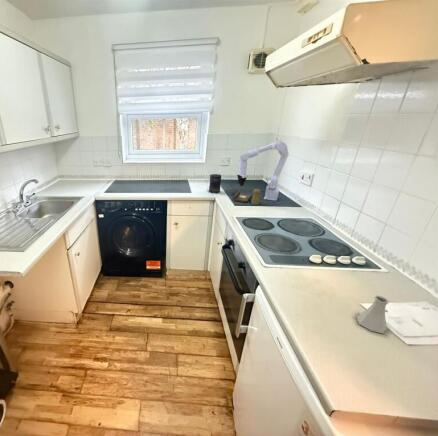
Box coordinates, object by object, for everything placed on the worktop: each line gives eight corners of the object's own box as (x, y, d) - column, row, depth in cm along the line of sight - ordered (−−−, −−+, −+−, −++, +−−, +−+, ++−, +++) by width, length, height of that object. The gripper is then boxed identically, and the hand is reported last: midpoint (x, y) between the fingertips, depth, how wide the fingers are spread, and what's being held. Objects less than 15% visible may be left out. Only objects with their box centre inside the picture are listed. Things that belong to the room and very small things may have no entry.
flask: (386, 337, 70) (399, 311, 66) (355, 325, 75) (365, 300, 71) (386, 322, 75) (398, 298, 71) (356, 311, 80) (366, 287, 76)
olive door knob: (251, 204, 180) (253, 190, 176) (250, 201, 185) (252, 188, 181) (259, 204, 178) (261, 190, 174) (259, 202, 183) (261, 188, 179)
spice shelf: (250, 196, 197) (251, 192, 196) (246, 202, 183) (247, 198, 182) (238, 195, 202) (238, 190, 201) (233, 201, 188) (233, 196, 187)
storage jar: (211, 189, 220) (212, 173, 214) (221, 191, 214) (223, 174, 209) (207, 192, 212) (208, 175, 207) (217, 193, 207) (219, 177, 201)
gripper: (236, 166, 197) (234, 182, 202) (239, 169, 184) (237, 186, 189) (244, 166, 196) (242, 182, 201) (248, 169, 182) (246, 187, 188)
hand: (240, 184), depth 195 cm, fingers open, 7 cm apart
